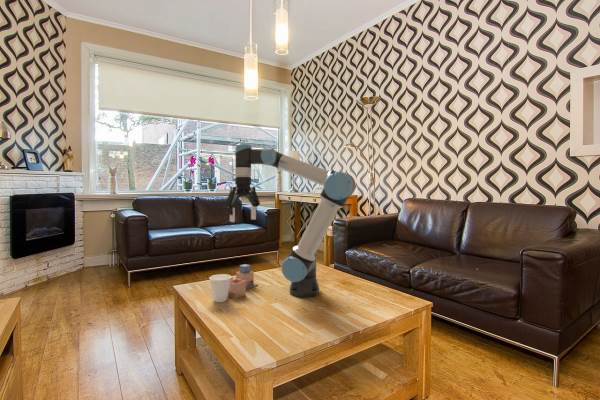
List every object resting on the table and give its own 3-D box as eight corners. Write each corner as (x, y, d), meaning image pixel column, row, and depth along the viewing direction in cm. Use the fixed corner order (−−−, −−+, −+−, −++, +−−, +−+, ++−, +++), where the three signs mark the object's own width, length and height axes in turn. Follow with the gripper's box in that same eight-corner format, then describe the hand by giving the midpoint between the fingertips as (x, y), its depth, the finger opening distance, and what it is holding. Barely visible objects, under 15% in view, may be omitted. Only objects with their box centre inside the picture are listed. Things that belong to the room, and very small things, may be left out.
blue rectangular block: (245, 278, 173) (245, 264, 172) (250, 280, 170) (250, 265, 170) (239, 280, 170) (239, 265, 169) (244, 281, 167) (244, 266, 167)
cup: (225, 305, 143) (225, 281, 143) (205, 303, 145) (205, 279, 145) (234, 297, 153) (234, 274, 152) (215, 295, 155) (215, 273, 154)
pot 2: (236, 292, 160) (236, 278, 160) (245, 295, 156) (245, 281, 156) (226, 295, 155) (226, 281, 155) (235, 298, 151) (235, 284, 151)
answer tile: (245, 281, 177) (245, 280, 177) (258, 285, 171) (258, 284, 171) (231, 286, 169) (231, 285, 169) (244, 290, 163) (244, 289, 163)
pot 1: (245, 282, 175) (245, 269, 174) (253, 284, 171) (253, 271, 170) (236, 285, 170) (236, 272, 169) (244, 287, 166) (244, 274, 165)
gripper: (256, 177, 165) (256, 217, 166) (217, 176, 146) (217, 222, 147) (267, 177, 161) (266, 219, 162) (227, 175, 141) (227, 223, 142)
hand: (243, 220), depth 154 cm, fingers open, 13 cm apart
